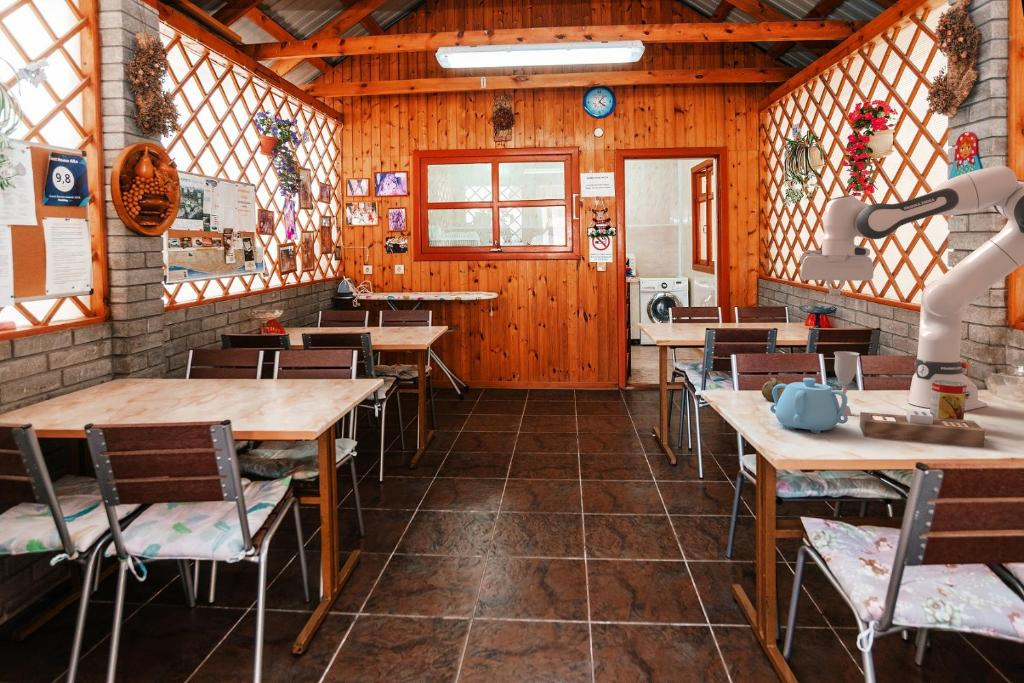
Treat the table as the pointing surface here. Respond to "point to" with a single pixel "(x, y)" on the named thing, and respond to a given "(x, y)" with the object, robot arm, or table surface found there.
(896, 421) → the tile one
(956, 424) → the tile three
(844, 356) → the chalice
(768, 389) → the onion
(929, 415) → the tile two
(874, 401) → the table surface
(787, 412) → the decorative pot
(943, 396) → the canned food
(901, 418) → the button board
